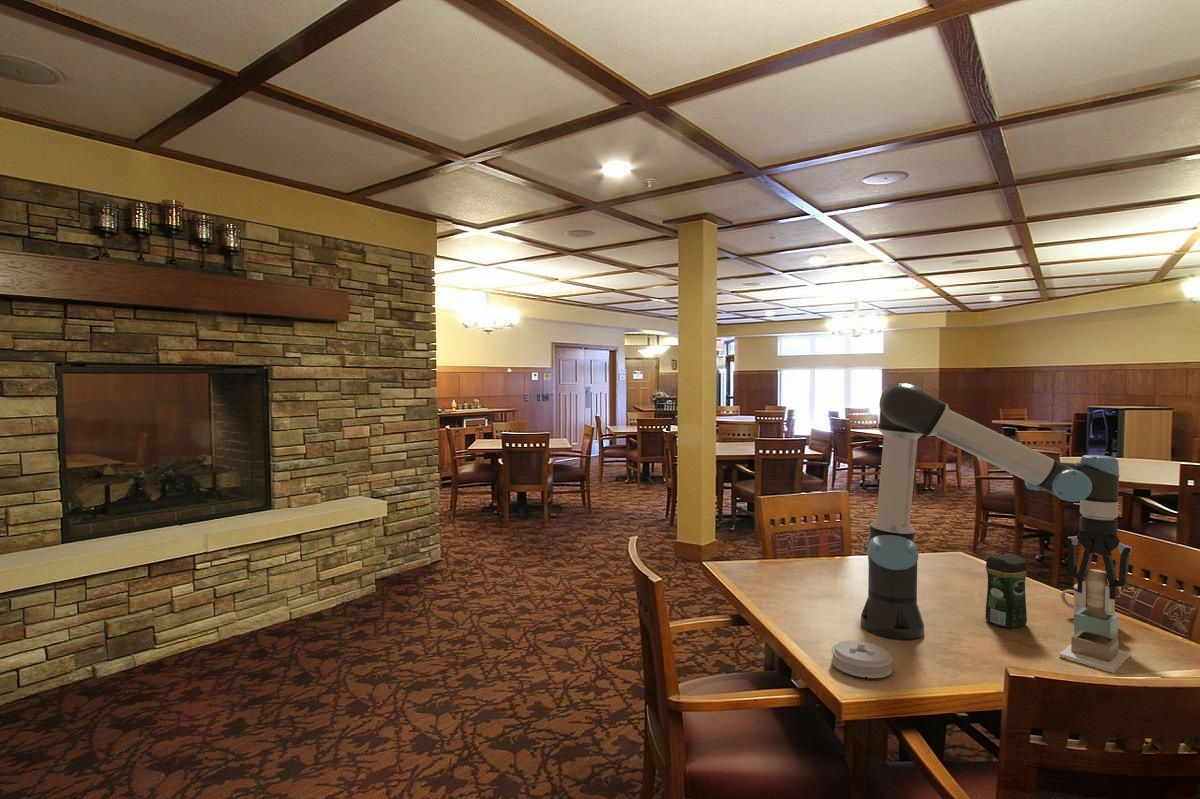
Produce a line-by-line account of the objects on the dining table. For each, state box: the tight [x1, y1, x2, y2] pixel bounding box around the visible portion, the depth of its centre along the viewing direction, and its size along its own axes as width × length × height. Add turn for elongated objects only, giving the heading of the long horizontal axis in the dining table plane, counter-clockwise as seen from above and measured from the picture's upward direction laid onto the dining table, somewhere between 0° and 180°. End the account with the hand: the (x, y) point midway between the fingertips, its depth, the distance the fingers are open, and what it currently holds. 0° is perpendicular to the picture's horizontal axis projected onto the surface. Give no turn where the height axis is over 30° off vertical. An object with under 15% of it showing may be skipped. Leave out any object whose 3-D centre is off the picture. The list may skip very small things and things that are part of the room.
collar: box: [1070, 630, 1119, 662], centre depth 146 cm, size 7×7×4 cm
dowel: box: [1086, 568, 1108, 620], centre depth 157 cm, size 4×4×17 cm
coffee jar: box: [985, 552, 1028, 629], centre depth 167 cm, size 10×8×19 cm
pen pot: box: [1073, 608, 1119, 639], centre depth 157 cm, size 7×7×6 cm
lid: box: [831, 639, 893, 679], centre depth 140 cm, size 13×13×5 cm
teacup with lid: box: [1060, 583, 1116, 619], centre depth 169 cm, size 12×9×12 cm
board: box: [1059, 644, 1131, 674], centre depth 146 cm, size 14×10×1 cm
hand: (1096, 608), depth 157 cm, fingers closed on dowel, 4 cm apart
